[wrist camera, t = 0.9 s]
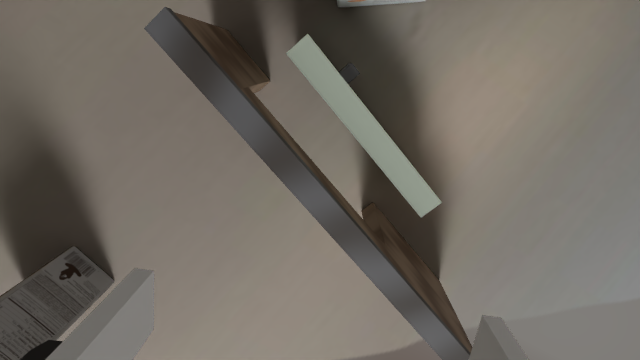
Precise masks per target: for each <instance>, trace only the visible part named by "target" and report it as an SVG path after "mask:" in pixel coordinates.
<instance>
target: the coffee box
mask: <svg viewBox="0 0 640 360" xmlns="http://www.w3.org/2000/svg"><path fill="white" fill-rule="evenodd" d="M113 283H114V280H113V279H112V278H111V277H110V276H108V275H107V274H106V273H105V272H104V271H103V270H102V269H100V268H99V267H98V266H97V265H96V264H95V263H93V262H92V261H91V260H90V259H89V258H88V257H87V256H85V255H84V254H83V253H82V252H81V251H80V250H78V249H77V248H76V247H75V246H72V247H70V248H69V249H68V250H66V251H65V252H63V253H62V254H61V255H59V256H58V257H56V258H55V259H53V260H52V261H50V262H49V263H47V264H46V265H45V266H43V267H42V268H40V269H39V270H37V271H36V272H35V273H33V274H32V275H30V276H29V277H27V278H26V279H25V280H23V281H22V282H20V283H19V284H17V285H16V286H14V287H13V288H11V289H10V290H8V291H7V292H5V293H4V294H3V295H1V296H0V360H20V359H21V358H22V357H23V356H24V355H25V354H27V353H28V352H29V351H30V350H32V349H33V348H35V347H37V346H39V345H40V344H42V343H44V342H45V341H47V340H55V341H56V340H57V339H58V338H59V337H60V336H61V335H62V334H63V333H64V332H65V331H66V330H67V329H68V328H69V327H70V326H71V325H72V324H73V323H74V322H75V321H76V320H77V319H78V318H79V317H80V316H81V315H82V314H83V313H84V312H85V311H86V310H87V309H88V308H89V307H90V306H91V305H92V304H93V303H94V302H95V301H96V300H97V299H98V298H99V297H100V296H101V295H102V294H103V293H104V292H105V291H106V290H107V289H108V288H109V287H110V286H111V285H112V284H113Z"/></svg>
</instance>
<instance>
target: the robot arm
mask: <svg viewBox="0 0 640 360" xmlns="http://www.w3.org/2000/svg"><path fill="white" fill-rule="evenodd" d="M153 329H154V271H153V270H145V269H138V268H134V269H133V270H132V271H131V272H130V273H129V274H128V275H127V276H126V278H125V279H124V280H123V281H122V282H121V283H120V284H119V285H118V286H117V287H116V288H115V289H114V290H113V291H112V292H111V293H110V294H109V295H108V296H107V297H106V298H105V299H104V300H103V301H102V302H101V303H100V304H99V305H98V306H97V307H96V308H95V309H94V310H93V311H92V312H91V313H90V314H89V315H88V316H87V317H86V318H85V319H84V321H83V322H82V323H81V324H80V325H79V326H78V327H77V328H76V329H75V330H74V331H73V332H72V333H71V334H70V335H69V336H68V337H67V338H66V339H65V340H64V341H63V342H62V341H55V340H47V341H45V342H44V343H42V344H40V345H39V346H37V347H35V348H33V349H32V350H30V351H29V352H28V353H27V354H25V355H24V356H23V357H22V358H21V359H20V360H133V359H134V357H135V356H136V354H137V353H138V351H139V350H140V348H141V347H142V345H143V344H144V342H145V341H146V339H147V338H148V336H149V335H150V334H151V332H152V331H153ZM469 360H529V359H528V357H527V355H526V354H525V352H524V351H523V349H522V348H521V346H520V345H519V343H518V342H517V340H516V339H515V338H514V336H513V335H512V333H511V331H510V330H509V329H508V327H507V326H506V324H505V322H504V321H503V319H502V318H500V317H493V316H486V315H482V318H481V321H480V324H479V327H478V331H477V334H476V337H475V341H474V344H473V347H472V350H471V354H470V357H469Z"/></svg>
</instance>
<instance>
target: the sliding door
mask: <svg viewBox="0 0 640 360" xmlns="http://www.w3.org/2000/svg"><path fill="white" fill-rule="evenodd" d="M286 54H287V55H288V56H289V58H290V59H291V60H292V61H293V63H294V64H295V65H296V66H297V67H298V69H299V70H300V71H301V72H302V74H303V75H304V76H305V77H306V78H307V80H308V81H309V82H310V83H311V85H312V86H313V87H314V88H315V89H316V91H317V92H318V93H319V94H320V95H321V97H322V98H323V99H324V100H325V102H326V103H327V104H328V105H329V106H330V108H331V109H332V110H333V111H334V113H335V114H336V115H337V116H338V117H339V119H340V120H341V121H342V122H343V124H344V125H345V126H346V127H347V128H348V130H349V131H350V132H351V133H352V135H353V136H354V137H355V138H356V139H357V141H358V142H359V143H360V144H361V145H362V147H363V148H364V149H365V150H366V152H367V153H368V154H369V155H370V156H371V158H372V159H373V160H374V161H375V163H376V164H377V165H378V166H379V167H380V169H381V170H382V171H383V172H384V174H385V175H386V176H387V177H388V178H389V180H390V181H391V182H392V183H393V185H394V186H395V187H396V188H397V189H398V191H399V192H400V193H401V194H402V195H403V197H404V198H405V199H406V200H407V202H408V203H409V204H410V205H411V206H412V208H413V209H414V210H415V211H416V213H417V214H418V215H419V216H420V217H423V216H424V215H425V214H427V213H428V212H430V211H431V210H432V209H434V208H435V207H437V206H438V205H439V204H441V203H442V202H441V201H440V199H439V198H438V197H437V196H436V194H435V193H434V192H433V191H432V189H431V188H430V187H429V186H428V184H427V183H426V182H425V181H424V179H423V178H422V177H421V175H420V174H419V173H418V172H417V170H416V169H415V168H414V167H413V165H412V164H411V163H410V162H409V160H408V159H407V158H406V157H405V155H404V154H403V153H402V152H401V150H400V149H399V148H398V147H397V145H396V144H395V143H394V142H393V140H392V139H391V138H390V136H389V135H388V134H387V133H386V131H385V130H384V129H383V128H382V126H381V125H380V124H379V123H378V121H377V120H376V119H375V118H374V116H373V115H372V114H371V113H370V111H369V110H368V109H367V108H366V106H365V105H364V104H363V103H362V101H361V100H360V99H359V97H358V96H357V95H356V94H355V92H354V91H353V90H352V89H351V87H350V86H349V85H348V83H349V82H351V81H352V80H353V79H354V78H355V77H357V76H358V75H359V74H360V73H359V71H358V70H357V69H356V68H355V66H354V65H353V64H352V63H349V64H347V65H346V66H345V67H344V68H343V69H342V70H340V71H339V72H338V71H337V70H336V69H335V67H334V66H333V65H332V64H331V62H330V61H329V60H328V58H327V57H326V56H325V55H324V53H323V52H322V51H321V50H320V48H319V47H318V46H317V45H316V43H315V42H314V41H313V40H312V38H311V37H310V36H309V35H308V34H307V35H306V36H305V37H304V38H302V39H301V40H300V41H299V42H298V43H297V44H296V45H295V46H294V47H293V48H291V49H290V50H289V51H288V52H287V53H286Z"/></svg>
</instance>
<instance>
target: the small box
mask: <svg viewBox="0 0 640 360" xmlns="http://www.w3.org/2000/svg"><path fill="white" fill-rule="evenodd" d="M422 1H426V0H337V5H338V7H355V6H371V5H385V4H399V3H412V2H422Z"/></svg>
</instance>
